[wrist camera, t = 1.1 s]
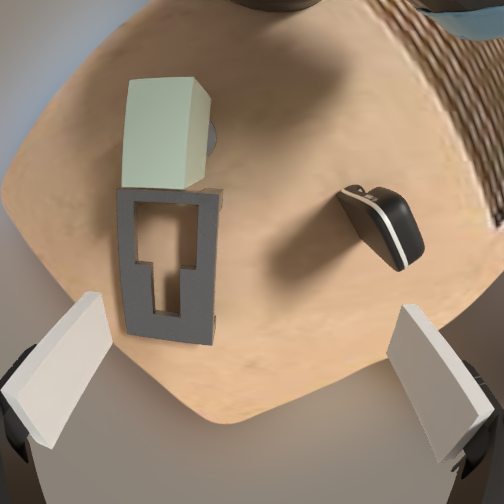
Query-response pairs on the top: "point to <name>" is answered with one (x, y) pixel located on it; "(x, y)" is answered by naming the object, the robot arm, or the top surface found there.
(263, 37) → the top surface
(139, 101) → the pale green boxy piece
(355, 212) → the battery charger
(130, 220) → the keyhole plate
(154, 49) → the top surface
